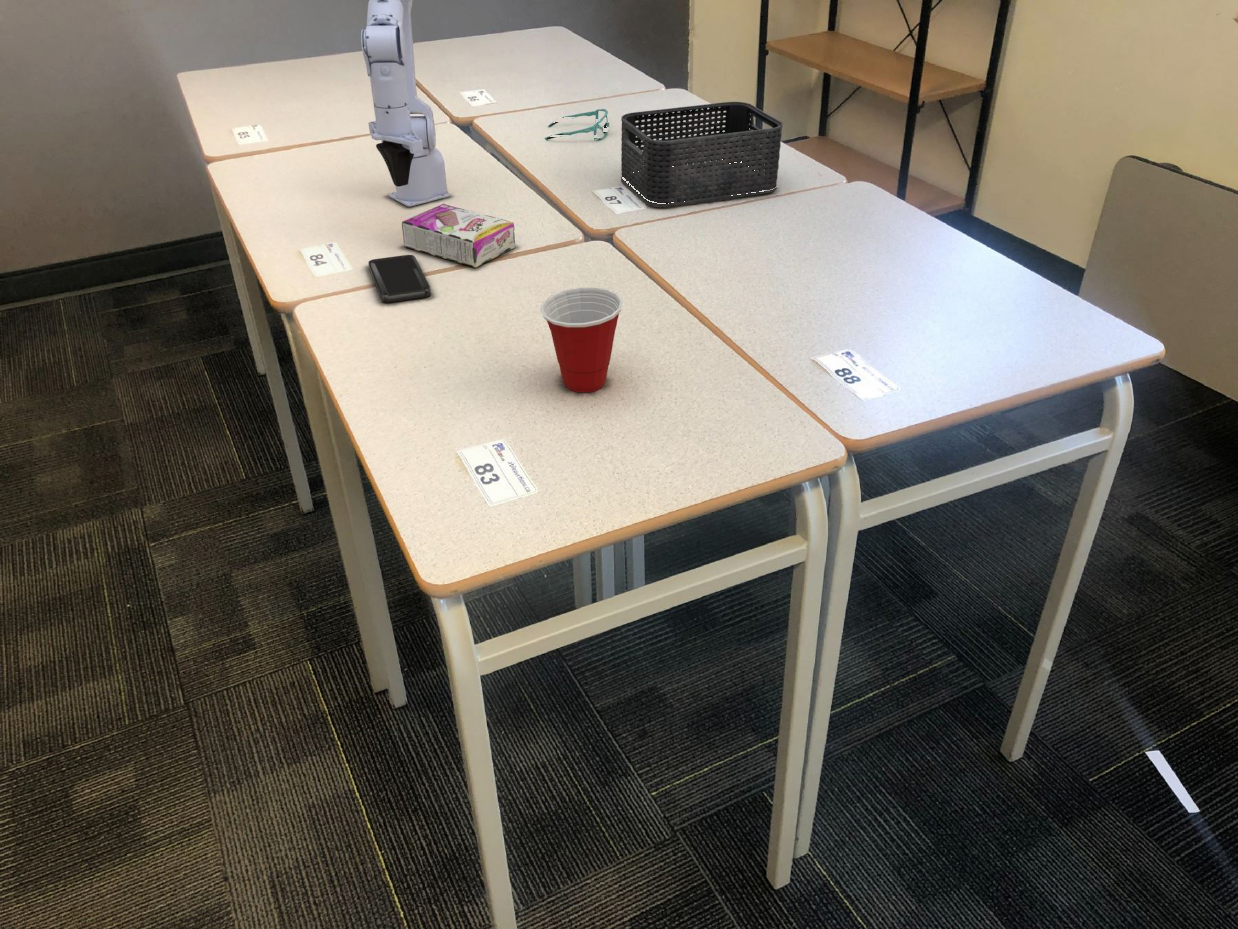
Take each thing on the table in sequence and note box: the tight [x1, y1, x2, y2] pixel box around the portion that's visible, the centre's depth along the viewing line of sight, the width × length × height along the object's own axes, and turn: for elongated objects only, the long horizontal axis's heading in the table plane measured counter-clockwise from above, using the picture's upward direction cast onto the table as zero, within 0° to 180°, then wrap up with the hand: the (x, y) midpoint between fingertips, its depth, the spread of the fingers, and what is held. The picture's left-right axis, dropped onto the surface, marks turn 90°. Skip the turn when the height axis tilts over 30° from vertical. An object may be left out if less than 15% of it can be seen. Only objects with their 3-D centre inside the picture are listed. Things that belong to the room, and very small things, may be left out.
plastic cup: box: [539, 286, 624, 394], centre depth 126 cm, size 11×11×12 cm
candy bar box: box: [401, 203, 516, 269], centre depth 165 cm, size 11×5×16 cm
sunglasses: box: [544, 108, 610, 141], centre depth 221 cm, size 14×15×5 cm
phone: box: [367, 254, 432, 304], centre depth 155 cm, size 8×1×15 cm
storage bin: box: [620, 101, 784, 209], centre depth 190 cm, size 29×19×13 cm
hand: (401, 184), depth 165 cm, fingers closed
